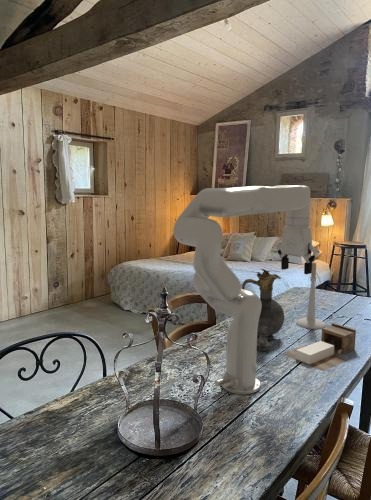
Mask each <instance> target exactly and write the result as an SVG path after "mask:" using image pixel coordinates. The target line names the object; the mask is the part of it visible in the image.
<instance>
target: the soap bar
mask: <svg viewBox="0 0 371 500" xmlns="http://www.w3.org/2000/svg"><path fill="white" fill-rule="evenodd" d="M307 345H308V346H305V345H304V346H305V347H303V348H300V349H297V348H296V349H297V350H296V359H297V360H296V361H298V360H300V361H302V362H301V363H303V362H305V363H307V364H309V365H308V366H310V364H312V363H314V362H317V361H319V360H322V359H324V358H326V357H329V356H331V355H334V345H331V344H328V343H325V342H322V341H321V340H319V341H317V342H314V343H311V344H307ZM300 361H299V362H300ZM305 363H304V364H305ZM307 364H306V365H307Z"/></svg>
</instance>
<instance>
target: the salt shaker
mask: <svg viewBox="0 0 371 500" xmlns="http://www.w3.org/2000/svg"><path fill="white" fill-rule="evenodd" d="M267 336H268V334H267V326H266V325H264V323H263V325H261V326H260V333H259V339H258V340H257V349H258V350H257V351H262V352H266V351H268V350H269V349H270V348H271V345H272V343H270V342H269V340H267Z"/></svg>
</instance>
